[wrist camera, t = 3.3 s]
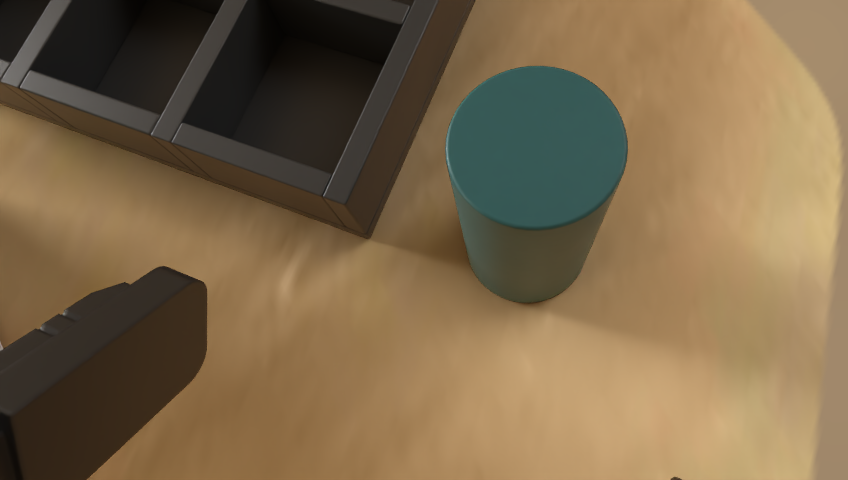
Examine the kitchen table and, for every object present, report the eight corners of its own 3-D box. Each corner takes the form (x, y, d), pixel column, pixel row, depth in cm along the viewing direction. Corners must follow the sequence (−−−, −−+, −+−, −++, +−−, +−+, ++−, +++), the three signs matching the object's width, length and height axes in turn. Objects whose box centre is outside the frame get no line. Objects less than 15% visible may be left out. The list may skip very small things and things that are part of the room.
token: (601, 211, 22) (652, 92, 14) (563, 320, 21) (594, 255, 13) (491, 175, 23) (482, 44, 15) (449, 278, 22) (417, 195, 14)
